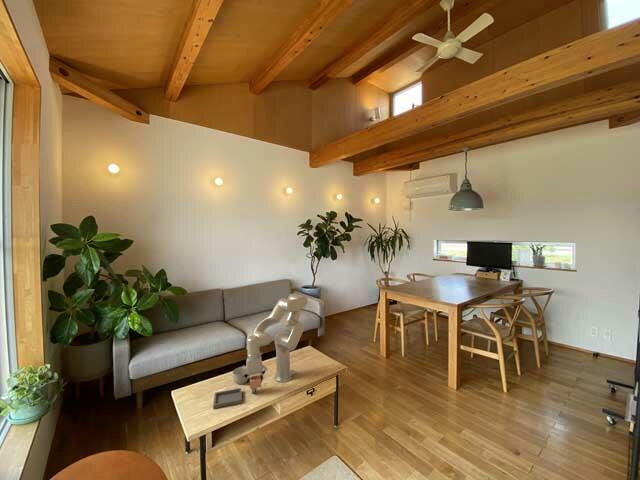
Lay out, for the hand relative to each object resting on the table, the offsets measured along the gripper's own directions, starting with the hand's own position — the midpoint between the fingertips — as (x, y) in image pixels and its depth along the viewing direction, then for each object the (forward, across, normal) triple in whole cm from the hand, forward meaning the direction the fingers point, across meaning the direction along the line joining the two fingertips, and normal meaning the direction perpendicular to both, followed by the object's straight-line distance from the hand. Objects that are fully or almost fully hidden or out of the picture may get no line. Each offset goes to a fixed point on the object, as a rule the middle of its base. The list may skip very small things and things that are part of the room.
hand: (255, 382), depth 172 cm
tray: (+6, +17, +3) cm, 18 cm away
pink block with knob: (+2, 0, 0) cm, 2 cm away
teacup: (+7, +8, -17) cm, 20 cm away
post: (+7, +1, +1) cm, 7 cm away
